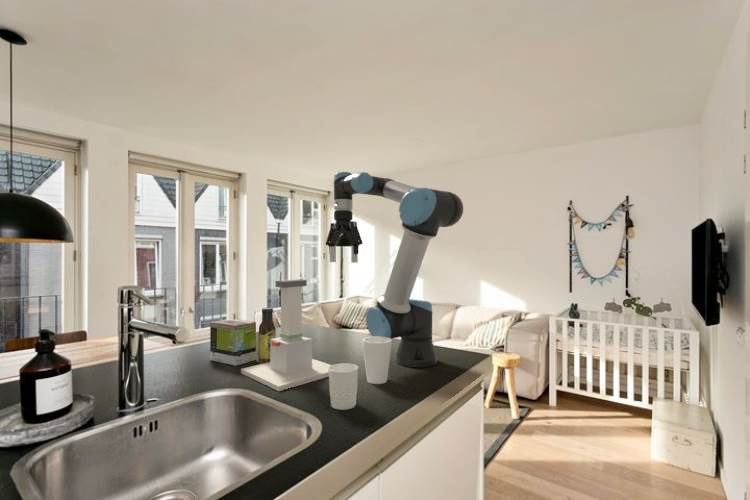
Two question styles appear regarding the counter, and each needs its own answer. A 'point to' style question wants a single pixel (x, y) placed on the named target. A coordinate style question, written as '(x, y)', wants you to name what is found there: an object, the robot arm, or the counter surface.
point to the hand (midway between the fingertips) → (343, 262)
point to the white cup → (343, 385)
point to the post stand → (288, 365)
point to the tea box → (233, 341)
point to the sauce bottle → (265, 335)
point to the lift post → (291, 309)
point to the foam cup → (377, 358)
